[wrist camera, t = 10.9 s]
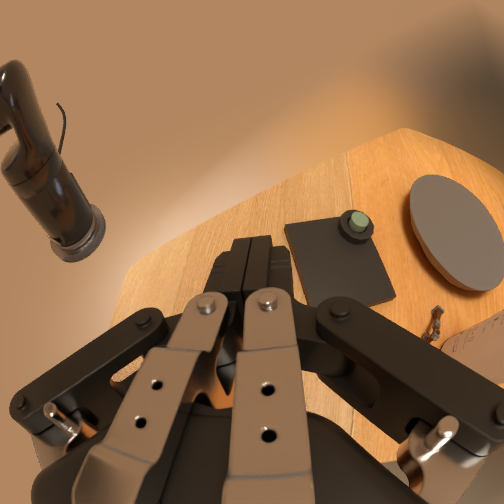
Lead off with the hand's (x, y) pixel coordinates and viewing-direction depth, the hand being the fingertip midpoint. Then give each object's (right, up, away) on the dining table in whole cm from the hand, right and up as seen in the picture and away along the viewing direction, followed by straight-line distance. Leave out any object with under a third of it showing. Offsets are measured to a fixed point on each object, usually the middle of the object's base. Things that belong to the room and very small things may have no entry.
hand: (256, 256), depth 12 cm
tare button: (+17, +5, +31) cm, 36 cm away
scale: (+14, -2, +30) cm, 33 cm away
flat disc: (+42, +3, +34) cm, 54 cm away
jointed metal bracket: (+28, -13, +25) cm, 40 cm away
